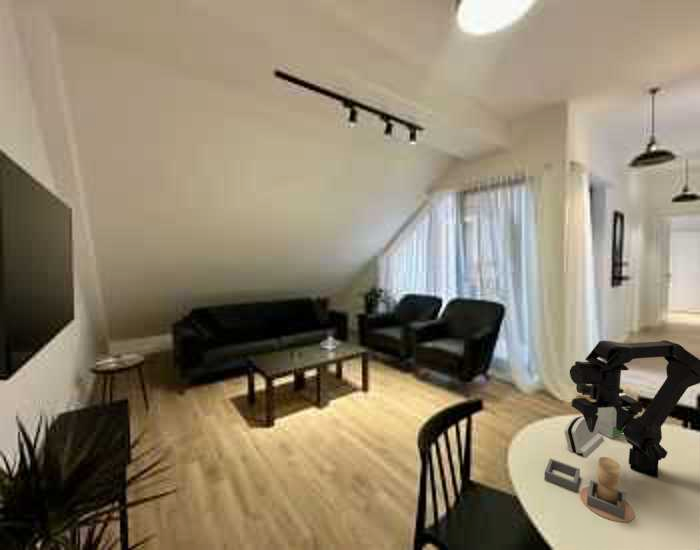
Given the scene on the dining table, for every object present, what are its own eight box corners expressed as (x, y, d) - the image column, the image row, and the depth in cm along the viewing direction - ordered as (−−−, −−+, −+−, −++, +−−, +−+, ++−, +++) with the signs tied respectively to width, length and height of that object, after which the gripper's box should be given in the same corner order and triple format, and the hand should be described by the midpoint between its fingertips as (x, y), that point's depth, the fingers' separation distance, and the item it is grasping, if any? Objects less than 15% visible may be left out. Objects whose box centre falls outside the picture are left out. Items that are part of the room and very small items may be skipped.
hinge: (585, 458, 111) (575, 427, 113) (570, 456, 115) (560, 426, 117) (604, 440, 121) (595, 411, 123) (590, 438, 125) (581, 411, 126)
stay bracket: (634, 501, 93) (635, 492, 93) (634, 530, 84) (635, 520, 84) (582, 481, 101) (583, 473, 101) (577, 506, 92) (577, 496, 92)
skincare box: (611, 439, 122) (614, 398, 120) (591, 429, 128) (594, 390, 126) (624, 433, 125) (627, 393, 123) (605, 424, 131) (607, 386, 129)
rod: (612, 498, 94) (615, 458, 93) (619, 510, 90) (623, 469, 88) (593, 495, 95) (596, 455, 94) (600, 507, 91) (603, 466, 90)
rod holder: (579, 476, 103) (580, 469, 103) (575, 491, 97) (576, 483, 97) (549, 465, 108) (550, 458, 108) (544, 479, 102) (544, 471, 102)
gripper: (614, 371, 111) (610, 415, 113) (560, 373, 110) (558, 418, 112) (645, 385, 100) (641, 434, 102) (587, 389, 99) (583, 438, 101)
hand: (604, 431), depth 104 cm, fingers open, 9 cm apart
